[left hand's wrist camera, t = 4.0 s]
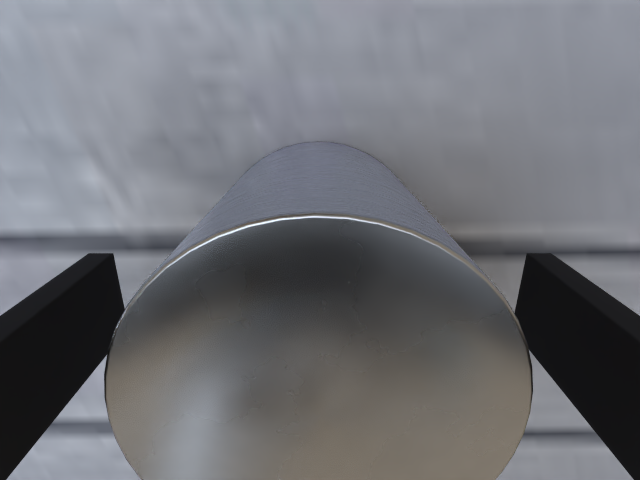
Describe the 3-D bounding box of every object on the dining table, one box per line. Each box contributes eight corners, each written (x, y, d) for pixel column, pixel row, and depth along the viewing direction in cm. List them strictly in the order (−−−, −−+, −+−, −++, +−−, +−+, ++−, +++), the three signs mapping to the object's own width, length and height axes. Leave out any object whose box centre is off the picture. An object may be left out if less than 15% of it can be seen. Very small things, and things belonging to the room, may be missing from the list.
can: (435, 154, 16) (600, 242, 7) (397, 332, 19) (473, 567, 10) (223, 129, 16) (80, 185, 6) (218, 315, 18) (117, 541, 9)
